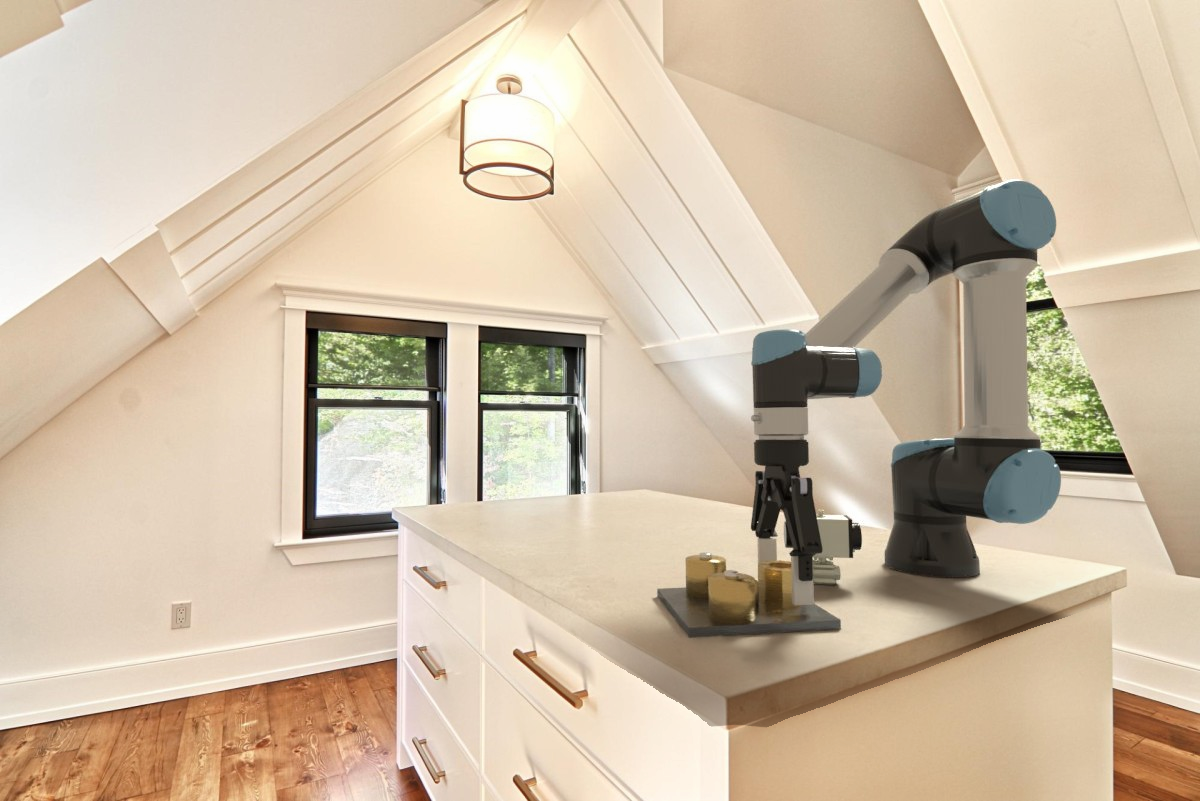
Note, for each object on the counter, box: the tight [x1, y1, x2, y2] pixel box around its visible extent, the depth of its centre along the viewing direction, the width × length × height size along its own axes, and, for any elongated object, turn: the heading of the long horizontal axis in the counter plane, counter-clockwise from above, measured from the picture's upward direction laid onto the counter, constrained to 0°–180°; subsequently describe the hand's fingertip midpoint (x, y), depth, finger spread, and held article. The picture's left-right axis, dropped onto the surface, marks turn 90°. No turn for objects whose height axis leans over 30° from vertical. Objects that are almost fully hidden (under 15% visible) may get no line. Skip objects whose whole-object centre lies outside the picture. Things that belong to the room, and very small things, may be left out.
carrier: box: [656, 552, 842, 639], centre depth 84 cm, size 20×18×7 cm
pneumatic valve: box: [783, 509, 863, 586], centre depth 100 cm, size 6×12×12 cm, turn 78°
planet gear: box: [757, 559, 802, 608], centre depth 85 cm, size 6×6×5 cm
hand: (784, 592), depth 85 cm, fingers open, 11 cm apart
